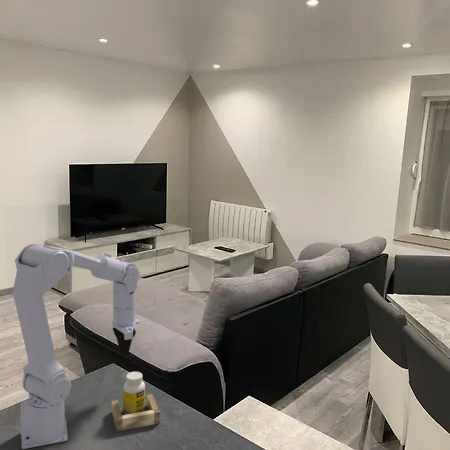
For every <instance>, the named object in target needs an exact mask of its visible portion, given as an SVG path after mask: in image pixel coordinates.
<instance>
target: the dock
mask: <svg viewBox="0 0 450 450" xmlns="http://www.w3.org/2000/svg"><path fill="white" fill-rule="evenodd" d="M146 407H147V410H145V411H144V412H138V413H133V414H127V415H125V414H122V412H121V407H120V405H119V401H118V399H115V400H111V415H112V419H113V423H114V427H115V431H116V432H123V431H126V430H127V431H128V430H131V429H139V428H142V427H143V428H144V427H147V426H148V427H149V426H153V425H159V424H161V410H160V409H159V407H158V404H157V401H156V400H155V396H154V394H152V393H150V394H146Z"/></svg>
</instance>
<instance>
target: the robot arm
mask: <svg viewBox="0 0 450 450" xmlns="http://www.w3.org/2000/svg"><path fill="white" fill-rule="evenodd" d="M14 263H15V267H16V274H15V278H14V284H13V288H12V289H13V290H12V296H13V300H14V304H15V307H16V312H17V313H16V314H17V317H18V322H19V324H20V325H19V326H20V330H21V334H22V338H23V343H24V347H25V352H26V357H27V361H28V362H27V363H26V364H25V365H24V366H23V367H22V368H23V378H22V388H23V390H24V391H25V392H27V393H28V398H29V399H26V400H23V401H21V402H20V427H19V434H20V435H21V438H20V439H21V449H22V450H25V449H26V450H27V449H33V448H34V447H35V448H36V447H41V446H46V445H51V444H57V443H61V442H62V443H63V442H66V441H68V427H67V426H68V425H67V419H66V414H65V413H66V412H65V411H66V410H65V401H66V400H67V398H68V396H69V394H70V392H71V388H72V382H71V380H70V377H68V376H67V375H66V370H65V368H64V367H63V366H62V365H61V363H60V362H59V360H57V358H56V353H55V350H54V344H53V340H52V339H53V338H52V334H51V330H50V324H49V320H48V315H47V311H46V310H47V309H46V306H45V301H44V295H45V293H48V292H49V291H50V290H51V289H52V288H53V287H54V286H55V285H56V284H57V283H58V282H59V281H61V279H62V278H64V276H65V275H66V274H67V272H71V271H72V270H73V267H74V268H78V269H84V270H88V271H90V273H91V275H92V276H93V277H94V278H96V279H101V280H105V281H110V282H112V304H113V305H112V308H113V309H112V324H111V325H112V331H113V334H114V336H115V338H116V341H117V347H118V351H119V354H120V356H127V355H129V353H130V349H131V345H132V342H133V339H134V337H135V336H136V333H137V331H136V328H135V327H136V325H140V323H141V321H140V319H139V318H136V291H137V288H138V282H139V280H140V278H141V272H140V269H139V268H138V266H137V265H136V264H135V263H133V262H132V263H131V262H128V261H124V259H123V258H119V257H118V258H115V257H112V254H109V253H103V254H99V255H96V256H95V257H94V256H90V255H87V254H84V253H81V252H79V251H76V250H71V249H67V248H64V247H58V246H57V247H56V246H50V245H43V246H41V245H39V244H37V243H30V244H28V245H26V246H24V247H23V248H22V250H21V251H20V252H19V254H18V255H17V257H16V258H15V259H14Z"/></svg>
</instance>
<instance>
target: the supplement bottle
mask: <svg viewBox="0 0 450 450" xmlns="http://www.w3.org/2000/svg"><path fill="white" fill-rule="evenodd" d="M125 380H126V382H124V384H123V388H122V399H123V400H122V412H123V415H127V414H133V413H138V412H144V411H146V409H145V408H146V384H145V382H144V381H143V380H144V379H143V373H141V372H140V371H131V372H130V371H129V372H127V374H126V376H125Z"/></svg>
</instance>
